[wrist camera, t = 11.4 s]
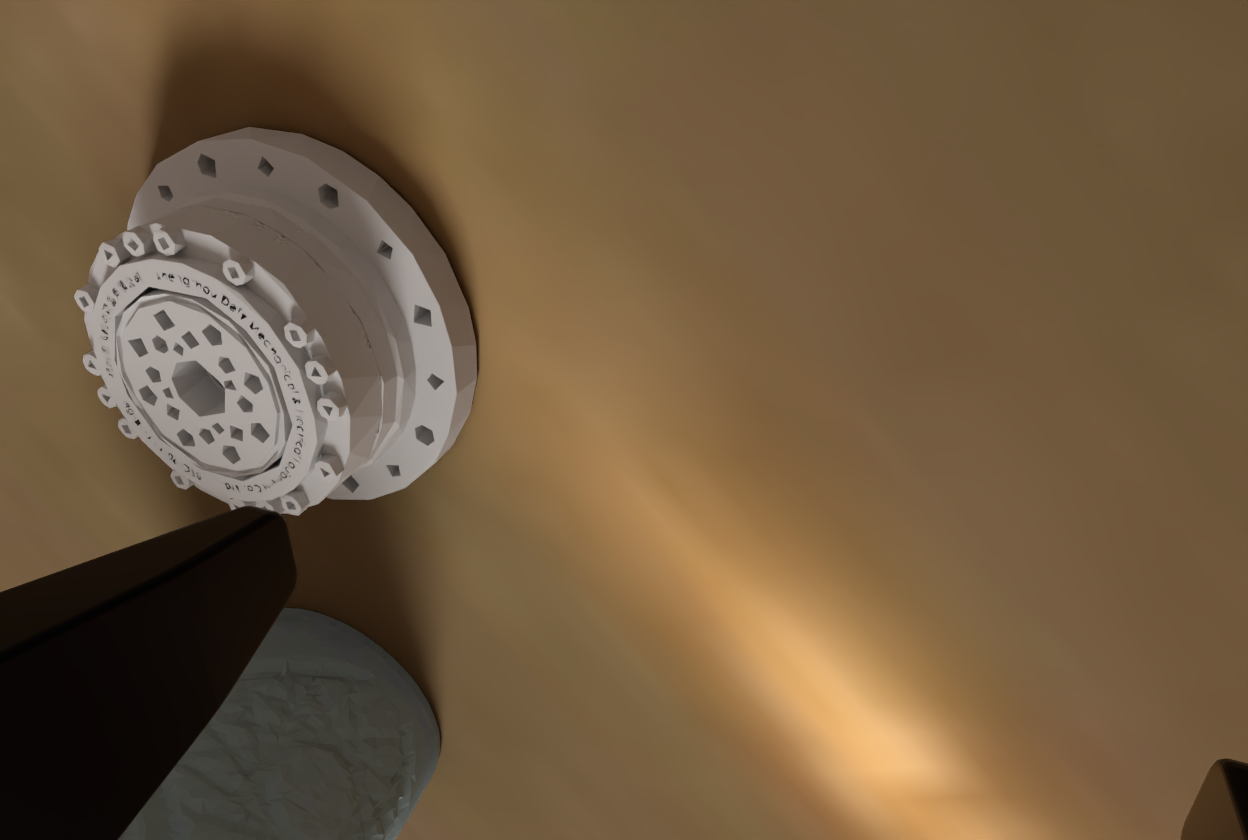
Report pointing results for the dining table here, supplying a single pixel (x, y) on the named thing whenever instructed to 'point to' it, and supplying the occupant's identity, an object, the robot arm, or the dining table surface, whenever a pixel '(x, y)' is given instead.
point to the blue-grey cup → (303, 746)
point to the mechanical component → (280, 325)
